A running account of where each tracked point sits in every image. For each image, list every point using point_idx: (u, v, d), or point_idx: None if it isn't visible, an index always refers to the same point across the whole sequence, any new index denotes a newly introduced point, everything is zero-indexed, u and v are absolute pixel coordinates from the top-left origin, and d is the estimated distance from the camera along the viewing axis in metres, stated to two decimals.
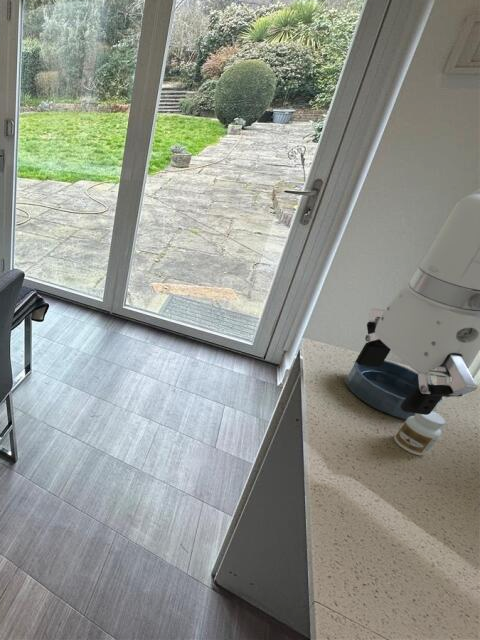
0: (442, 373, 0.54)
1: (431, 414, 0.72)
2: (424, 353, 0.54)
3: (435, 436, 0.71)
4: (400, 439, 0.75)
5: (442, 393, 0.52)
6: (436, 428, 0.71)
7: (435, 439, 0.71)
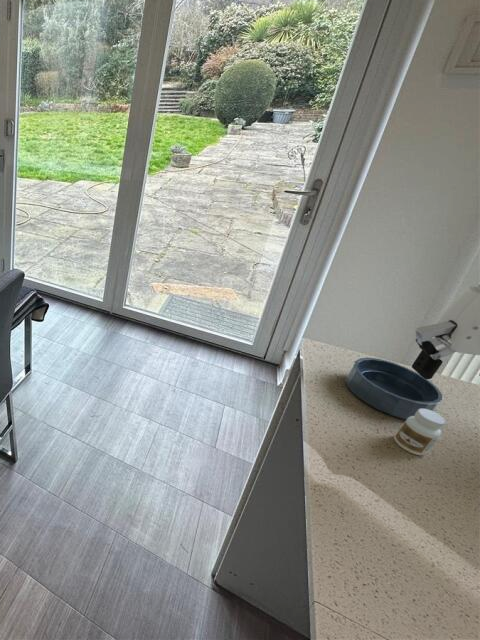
0: None
1: (431, 414, 0.72)
2: None
3: (435, 436, 0.71)
4: (400, 439, 0.75)
5: None
6: (437, 428, 0.71)
7: (435, 439, 0.71)
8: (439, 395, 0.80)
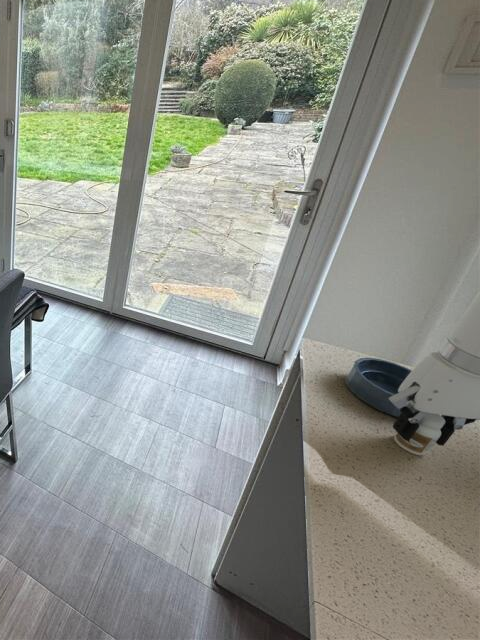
0: None
1: (431, 414, 0.72)
2: None
3: (435, 436, 0.71)
4: (400, 439, 0.75)
5: (470, 422, 0.70)
6: (436, 428, 0.71)
7: (435, 439, 0.71)
8: None
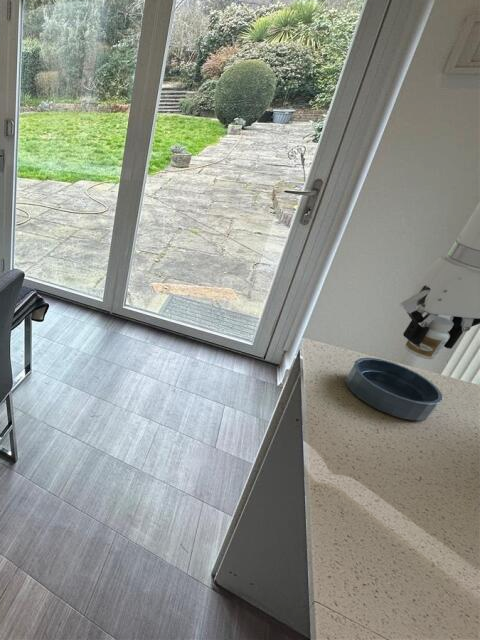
0: None
1: (440, 318, 0.76)
2: None
3: (444, 338, 0.75)
4: (410, 346, 0.79)
5: (477, 324, 0.74)
6: (445, 330, 0.75)
7: (444, 341, 0.75)
8: (439, 395, 0.80)
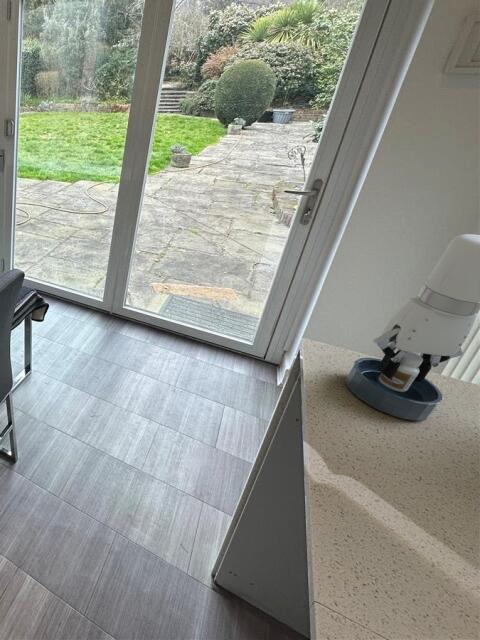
0: None
1: (411, 354, 0.81)
2: (458, 344, 0.76)
3: (414, 373, 0.80)
4: (384, 378, 0.84)
5: (444, 360, 0.79)
6: (415, 365, 0.80)
7: (414, 376, 0.81)
8: (439, 395, 0.80)
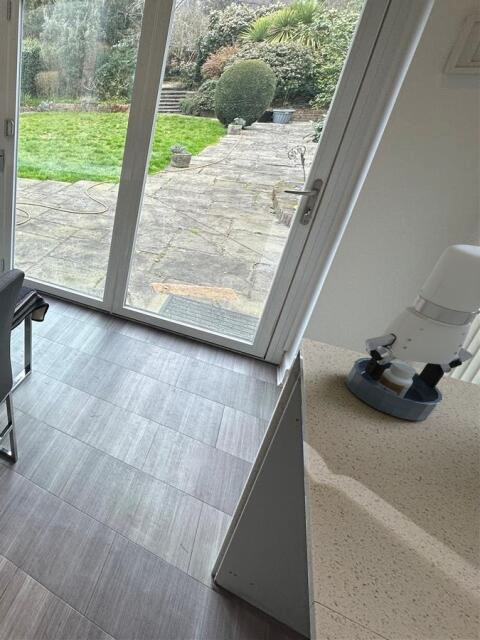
0: None
1: (404, 365, 0.83)
2: (453, 353, 0.77)
3: (407, 384, 0.82)
4: None
5: (457, 365, 0.79)
6: (408, 376, 0.81)
7: (407, 387, 0.82)
8: (439, 395, 0.80)
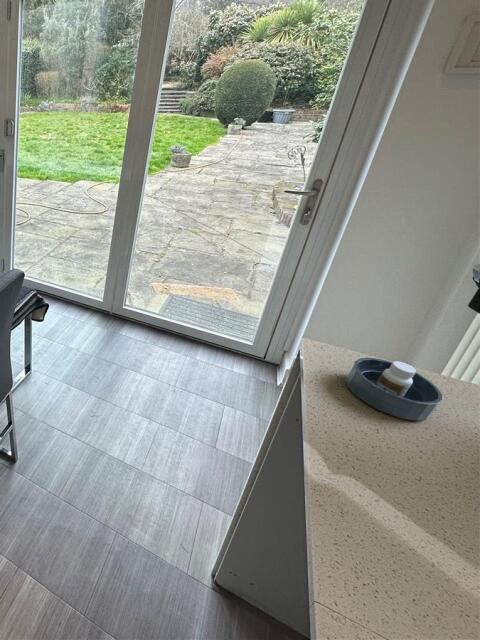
0: None
1: (404, 365, 0.83)
2: None
3: (407, 384, 0.82)
4: None
5: None
6: (408, 376, 0.81)
7: (407, 387, 0.82)
8: (439, 395, 0.80)
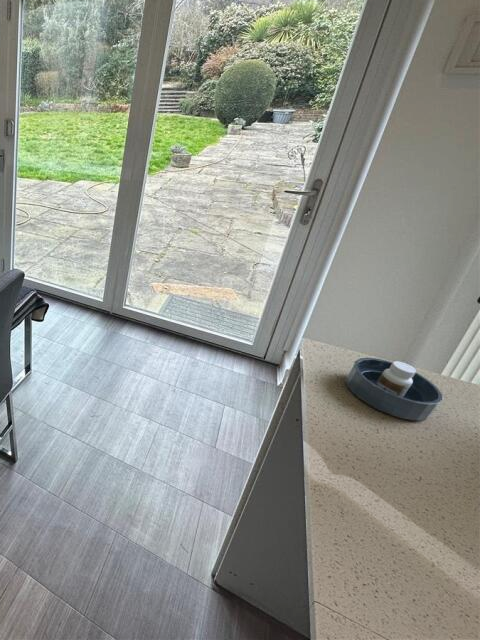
0: None
1: (404, 365, 0.83)
2: None
3: (407, 384, 0.82)
4: None
5: None
6: (408, 376, 0.81)
7: (407, 387, 0.82)
8: (439, 395, 0.80)
